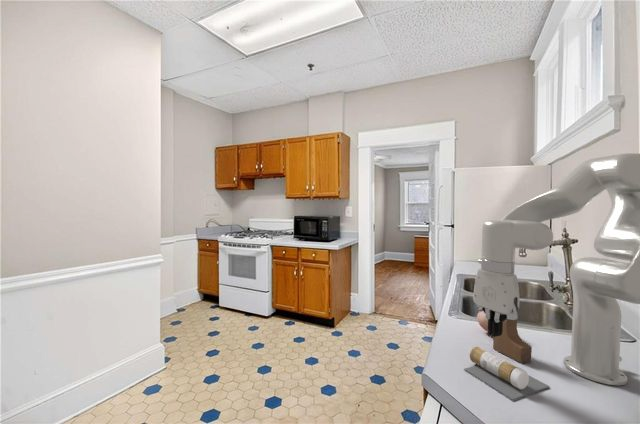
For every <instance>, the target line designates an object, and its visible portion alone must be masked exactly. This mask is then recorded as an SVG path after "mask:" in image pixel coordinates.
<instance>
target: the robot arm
mask: <svg viewBox="0 0 640 424" xmlns="http://www.w3.org/2000/svg"><path fill="white" fill-rule="evenodd" d="M605 190H606V192H607V193H608V195H609V197H610V198H609V199H610V202H611V207H610V210H609V213H608V214H607V216H606V218H605V220H604V221H603V223H602V225H601V227H600V229H599V230H598V232H597V234H596V237H595V238H594V241H593V248H594V250H595V251H596V252H597V253H598V254H600V255H602V256H605V257H607V258H612V259H607V258H600V257H592V256H589V257H588V256H587V257H586V256H585V257H581V258H579V259H576V260H575V261H574V262H573V263H572V264H571V266H570V268H569V279H570V283H571V288H572V301H573V302H572V303H573V304H572V319H571V320H572V323H571V346H570V355H567V356H565V357H564V358H563V364H564V366H565V367H566V368H567V369H568V370H569V371H571V372H573V373H574V374H576V375H578V376H581V377H582V378H585V379H588V380H590V381H593V382H596V383H600V384H603V385H604V384H605V385H608V386H618V387H619V386H624V385H626V384H628V377H627V375H626V374H625V372H623V371H621V370H620V362H622V361H623V357H622V356H621V355H620V351H621V336H622V335H621V334H622V333H621V332H622V331H621V330H622V319H623V318H622V310H621V307H620V305H619V303H618V301H617V300H619V301H623V302H626V303H630V304H635V305H640V153H637V152H636V153H630V152H629V153H628V152H627V153H621V154H620V153H619V154H615V155H607V156H601V157H594V158H590V159H588V160H585V161H583V162H581V163H580V164H579V165H577V167H575V168H574V169H573V170H572V171H570V172H569V173H568V174H567V175H566V176H564V177H563V179H561V180H560V181H559V182H557V183H556V184H555V185H554V186H553V187H552V188H551V189H549V190H548V191H546V192H544V193H542V194H540V195H537V196H536V197H534V198H531V199H530V200H528V201H525V202H523V203H522V204H519V205H518V206H515V208H513V209H512V210H510V211H509V212H508V213H507V214H505V216H504V217H502V219H500V220H487V221H484V222H483V224H482V229H481V230H482V231H481V234H482V235H481V237H482V239H481V259H480V258H479V259H478V262H477V263H478V264H479V265H480V268H478V270H477V273H476V275H475V280H474V285H473V286H474V288H473V297H472V298H473V303H474V304H475V305H476V307H477V308H478V309H479V308H480V309H482V310H483V311H484V313H485V314H486V318H487V319H488V332H487V335H489V336H492V337H496V336H501V335H502V332H503V321H505V320H507V319H510V320H516V319H517V320H518V319H519V317H518V313H519V312H520V311H519V310H520V303H521V302H520V288H519V281H518V276H517V274H515V268H516V267H515V266H516V265H515V263H516V262H515V261H516V260H515V259H516V249H524V250H530V251H540V250H543V249H546V248H548V247H549V246H550V245H551V244H552V242H553V240H554V232H553V230H552V229H551V228H550V227H549V226H548V225H547V224H546V223H543V222H546V221H549V220H553V219H560V218H564V217H567V216H568V217H569V216H571V215H574V214H577V213H579V212H581V211H582V210H583V209H584V208H586V207H587V206H588V205H589V204H590V203H591V202H592V201H593V200H595V199H596V198H597V197H598V196H599V195H600V194H601V193H602V192H604V191H605ZM613 259H615V260H613ZM616 259H617V260H620V261H617V260H616ZM621 260H623V261H628V262H623V261H621Z"/></svg>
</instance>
